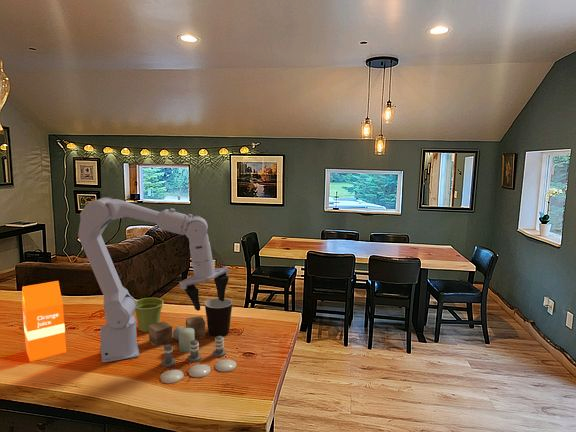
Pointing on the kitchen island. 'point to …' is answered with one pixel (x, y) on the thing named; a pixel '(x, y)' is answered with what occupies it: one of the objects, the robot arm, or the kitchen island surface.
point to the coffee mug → (218, 316)
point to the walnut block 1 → (160, 333)
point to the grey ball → (177, 332)
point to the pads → (197, 371)
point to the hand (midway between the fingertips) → (209, 304)
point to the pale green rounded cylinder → (185, 339)
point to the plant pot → (148, 312)
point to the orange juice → (43, 320)
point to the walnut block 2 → (196, 326)
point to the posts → (193, 352)
